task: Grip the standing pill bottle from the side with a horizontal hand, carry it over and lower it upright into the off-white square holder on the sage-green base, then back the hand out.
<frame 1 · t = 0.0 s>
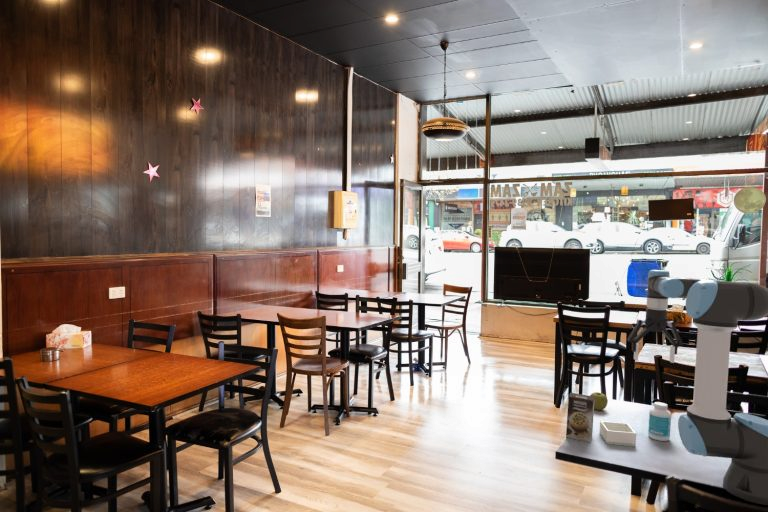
hand: (653, 360, 208), 28 cm above the table, tool pointing down, fingers open, 13 cm apart
apple: (597, 409, 231), on the table
holder: (617, 439, 197), on the table
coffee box: (579, 437, 198), on the table
pill bottle: (658, 438, 200), on the table
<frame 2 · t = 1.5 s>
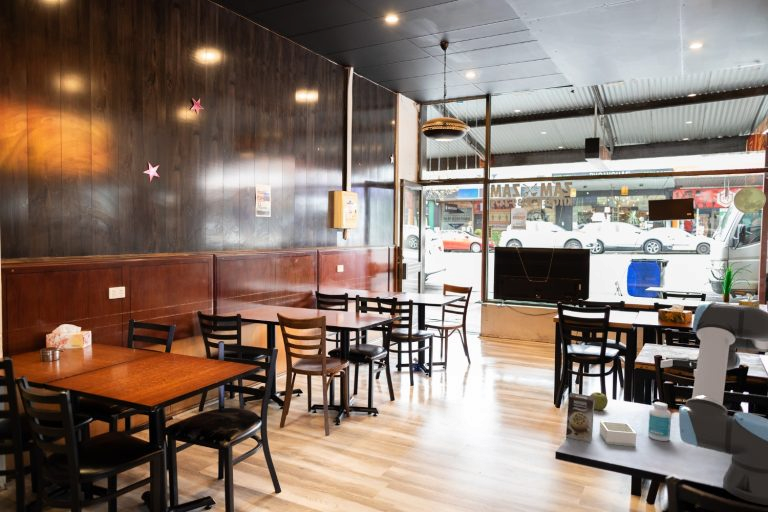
hand: (677, 368, 203), 26 cm above the table, tool horizontal, fingers open, 13 cm apart
nothing on the table moved.
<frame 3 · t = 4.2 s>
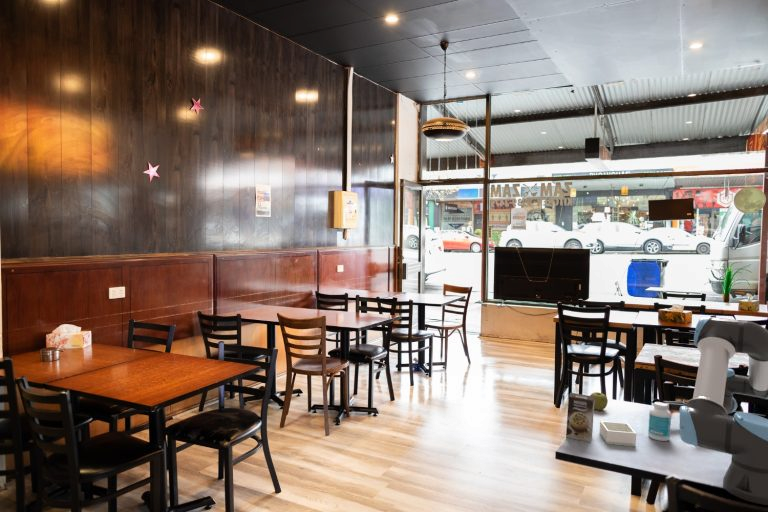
hand: (673, 414, 203), 8 cm above the table, tool horizontal, fingers open, 13 cm apart
nothing on the table moved.
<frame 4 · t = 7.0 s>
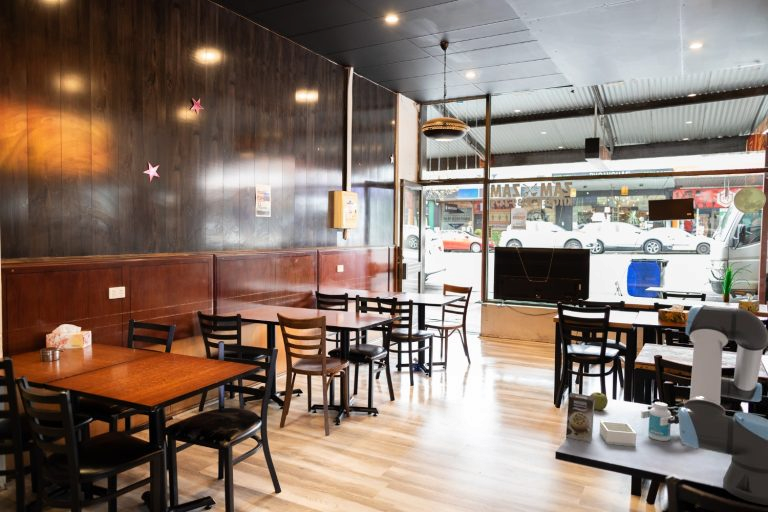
hand: (651, 418, 197), 8 cm above the table, tool horizontal, fingers closed on pill bottle, 7 cm apart
pill bottle: (658, 438, 200), on the table, touching gripper
everything else where it was.
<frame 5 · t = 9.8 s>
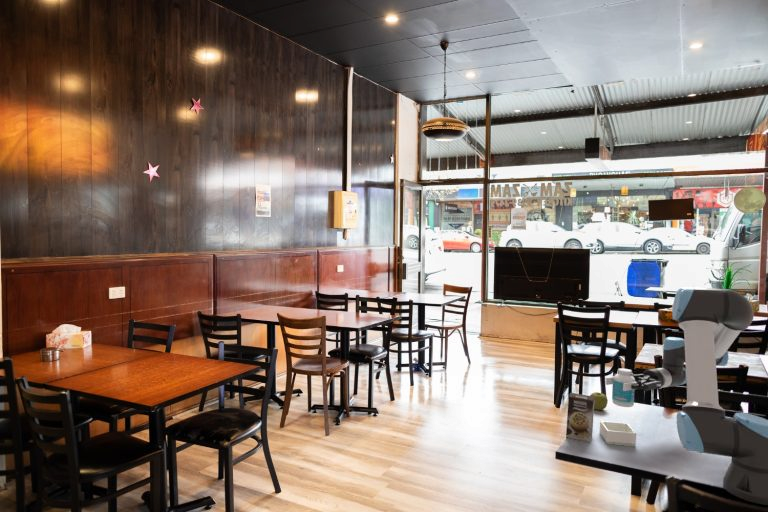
hand: (614, 384, 194), 22 cm above the table, tool horizontal, fingers closed on pill bottle, 7 cm apart
pill bottle: (622, 405, 197), point 13 cm above the table, touching gripper
everything else where it was.
when the fingers open (10 cm above the table, at t = 12.7 s): pill bottle stays where it is, resting on holder.
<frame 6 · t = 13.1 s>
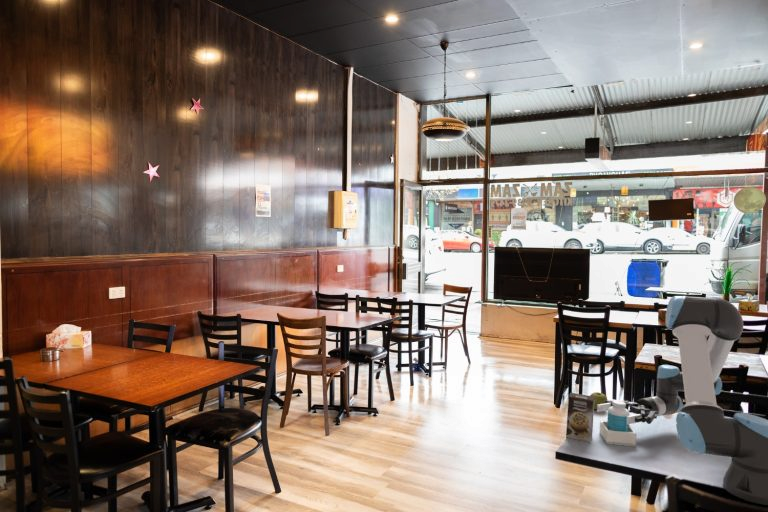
hand: (612, 414, 195), 10 cm above the table, tool horizontal, fingers open, 13 cm apart
pill bottle: (617, 437, 197), point 1 cm above the table, touching holder
everything else where it was.
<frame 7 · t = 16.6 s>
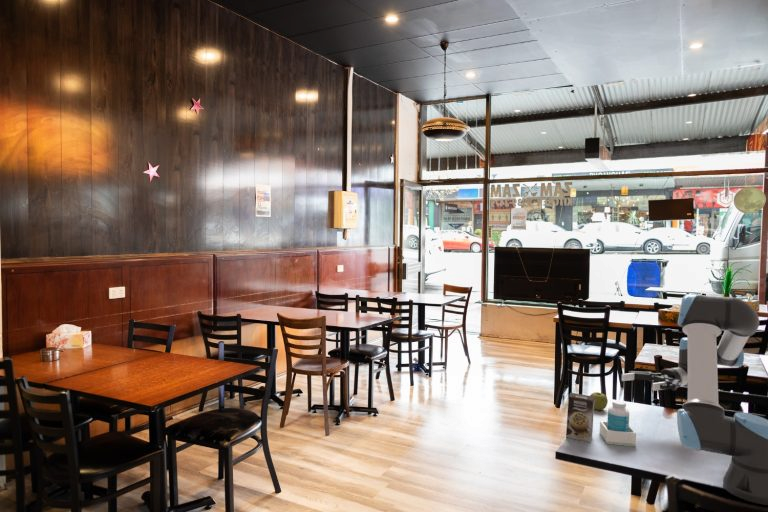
hand: (637, 382, 200), 21 cm above the table, tool horizontal, fingers open, 13 cm apart
nothing on the table moved.
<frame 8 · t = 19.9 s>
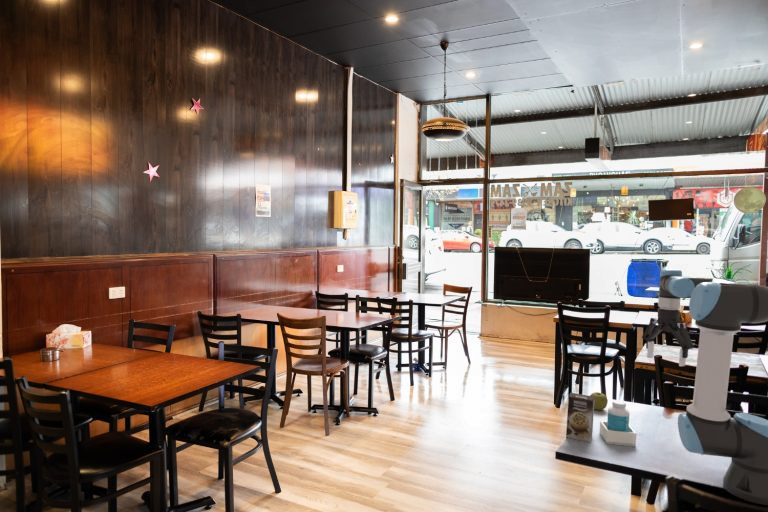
hand: (665, 361, 204), 29 cm above the table, tool pointing down, fingers open, 13 cm apart
nothing on the table moved.
at the end: pill bottle 0.0 cm off-centre on the holder, point 0.8 cm above the holder's base; pill bottle tilted 0°; the gripper is holding nothing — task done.
